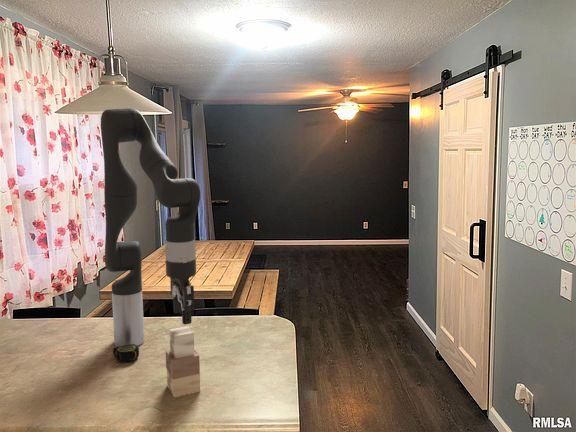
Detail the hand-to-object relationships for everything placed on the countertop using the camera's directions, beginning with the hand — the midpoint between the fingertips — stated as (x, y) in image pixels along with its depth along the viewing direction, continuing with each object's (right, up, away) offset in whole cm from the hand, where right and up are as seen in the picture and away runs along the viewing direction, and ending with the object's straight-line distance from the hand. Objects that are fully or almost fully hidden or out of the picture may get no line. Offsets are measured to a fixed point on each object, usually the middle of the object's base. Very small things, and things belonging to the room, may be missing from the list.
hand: (182, 317), depth 129 cm
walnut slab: (0, -14, +2) cm, 15 cm away
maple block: (0, -9, +1) cm, 10 cm away
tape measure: (-21, -17, +21) cm, 34 cm away
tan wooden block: (0, -19, +3) cm, 20 cm away
